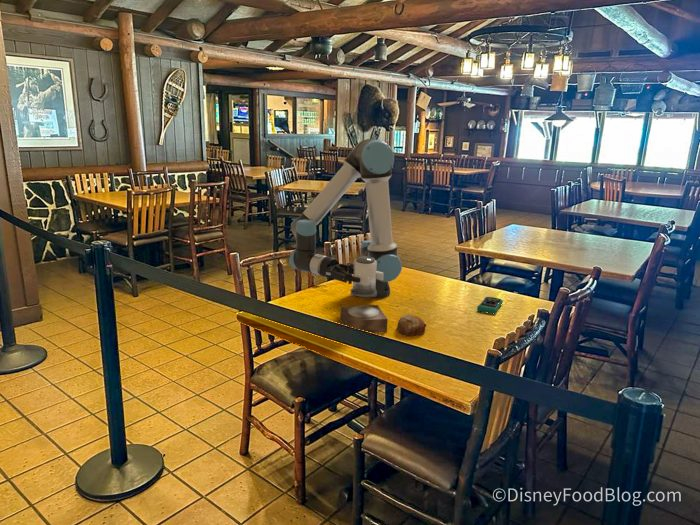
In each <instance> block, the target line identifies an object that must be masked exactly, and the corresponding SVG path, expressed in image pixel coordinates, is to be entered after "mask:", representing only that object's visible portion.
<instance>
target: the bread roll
mask: <svg viewBox="0 0 700 525" xmlns="http://www.w3.org/2000/svg"><path fill="white" fill-rule="evenodd" d="M426 327H427V324H426V323H425V321H424V320H423V318H421V317H420V316H418V315H415V314H411V313H410V314H409V313H408V314H407V313H406V314H404V315H403V316H401V317H400V318H399V319H398V321H397V326H396V329H395V330H396V331H397V332H398V333H399V335H402V336H404V337H413V338H414V337H419V336H423V335H424V333H425V332H426Z"/></svg>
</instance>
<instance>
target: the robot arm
mask: <svg viewBox="0 0 700 525" xmlns="http://www.w3.org/2000/svg"><path fill="white" fill-rule="evenodd" d="M394 162H395V154H394V151H393V149H392V147H391V146H390V145H389V144H388V143H387V142H385V141H383V140H380V139H372V138H367V139H363V140H361V141H360V142H359V143H357V144H356V145H355V146H354V147H353V149H352V150H351V151H350V153H349V154H348V155H347V156H346V157H345V158H344V160H343V165H342V166H341V168H340V169H338V171H337V172H336V173H335V174H334V175H333V177H332V178H331V179H330V180H329V181H328V183H326V185H324V187H323V189H322V190H321V191H320V192H318V194H317V195H316V197H315V198H314V199H313V200H312V201H311V203H310V204H309V205H308V206H307V207H306V208H305V210H304V211H303V212H302V214H301V215H299V217H297V218H295V219H293V221H292V222H291V224H290V230H291V233H292V234H293V236H294V237H295V249H294V250H293V251H292V252H291V253H290V254H289V255H290V256H289V258H288V262H289V266H291V268H293V269H295V270H298V271H301V272H306V273H310V274H312V275H316V276H317V277H323V278H327V279H334V280H335V281H338V282H339V281H340V282H341V283H346V284H348V285H353V282H355V283H358V284H362V285H366V286H369V281H370V278H368V277H364V276H360V275H356V274H353V270H354V263H350V262H348V263H346V264H345V263H339V260H338V259H337V258H335V257H331V256H327V255H323V254H319V253H316V248H317V245H316V243H317V241H316V240H317V239H316V238H317V230H318V229H317V226H318V225H319V223H320V222H322V220H323V219H324V218H325V216H326V215H328V213H329V212H330V211H331V209H332V208H333V207H334V206H335V205H336V204H337V202H339V200H340V199H341V198H342V196H343V195H344V194H345V193H346V192H347V191H348V190H349V189H350V187H351V186H352V185H353V184H355V182H356V181H357V179H360V178H361V180H362V181H364V183H365V192H366V201H367V202H366V203H367V204H366V205H367V210H368V211H367V213H368V214H367V215H368V223H369V226H368V227H369V235H370V236H369V237H370V240H369V239H368V240H364V241H362V242H360V243H361V244H360V247H359V248H360V255H359V257H360V256H369V257H373V258H375V260H376V261H377V270H376V286H375V290H376V291H377V296H376V297H373V298H372V299H373V300H374V299H383V298H387V297H390V295H391V288H390V287H391V286H390V283H389V282H392V281H394V280H396V279H397V278H398V277H399V276H400V274H401V272H402V269H403V264H402V261H401V258H400V257H399V253H398V244H396V242H394V241H393V240H394V239H393V227H392V211H391V201H390V200H391V199H390V187H389V185H390V184H389V180H390V179H391V177H392V176H393V174H392V173H393V172H392V170H393V169H392V167H393V166H394Z"/></svg>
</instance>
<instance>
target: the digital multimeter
mask: <svg viewBox="0 0 700 525" xmlns="http://www.w3.org/2000/svg"><path fill="white" fill-rule="evenodd" d="M503 302H504V300H503V299H502V298H498V297H494V296H485V297H484V299H483V300H482V301H481V302H480V303H479V304H478V305H477V307H476V311H477V310H478V311H482V312H488V313H494V314H495V313H496V314H497V313H498V311H499V309H500V308H501V307H502V306H501V304H502V303H503ZM498 303H499V304H498ZM502 305H503V304H502ZM500 306H501V307H500ZM499 307H500V308H499ZM498 308H499V309H498ZM497 310H498V311H497ZM478 311H477V312H478ZM482 312H481V313H482ZM496 314H495V315H496Z"/></svg>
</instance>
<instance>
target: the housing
mask: <svg viewBox="0 0 700 525" xmlns="http://www.w3.org/2000/svg"><path fill="white" fill-rule="evenodd" d="M355 258H356V259H354V260H353V264H354V270H353V274H356V275H360V276H364V277H368V278H370V281H369V286H366V285H362V284H358V283H355V282H353V281H352V288H351V289H350V295H351V296H352V297H354V298H359V299H373V297H376V296H377V291H376V290H375V286H376V270H377V261H376V260H375V258H373V257H369V256H360V255H359V256H357V257H355ZM353 274H352V275H353Z"/></svg>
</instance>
